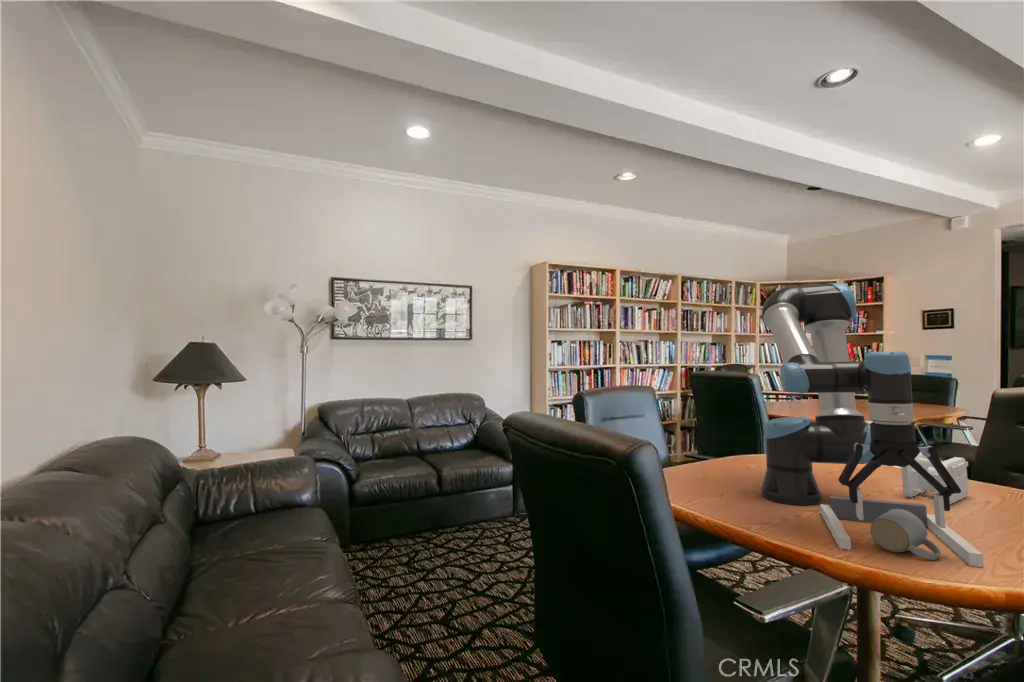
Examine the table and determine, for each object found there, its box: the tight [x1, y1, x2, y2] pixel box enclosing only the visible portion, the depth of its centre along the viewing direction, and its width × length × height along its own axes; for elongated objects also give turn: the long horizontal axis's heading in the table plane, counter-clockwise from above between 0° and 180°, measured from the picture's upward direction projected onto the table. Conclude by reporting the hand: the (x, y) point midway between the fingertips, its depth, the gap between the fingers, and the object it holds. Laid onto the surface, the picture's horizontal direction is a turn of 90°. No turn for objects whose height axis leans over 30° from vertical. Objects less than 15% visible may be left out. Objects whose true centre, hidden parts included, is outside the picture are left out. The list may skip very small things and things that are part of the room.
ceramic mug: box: [869, 509, 941, 561], centre depth 96 cm, size 11×8×8 cm
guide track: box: [819, 495, 985, 568], centre depth 104 cm, size 23×24×5 cm
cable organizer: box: [900, 453, 969, 505], centre depth 129 cm, size 15×11×12 cm
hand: (899, 522), depth 97 cm, fingers open, 13 cm apart
